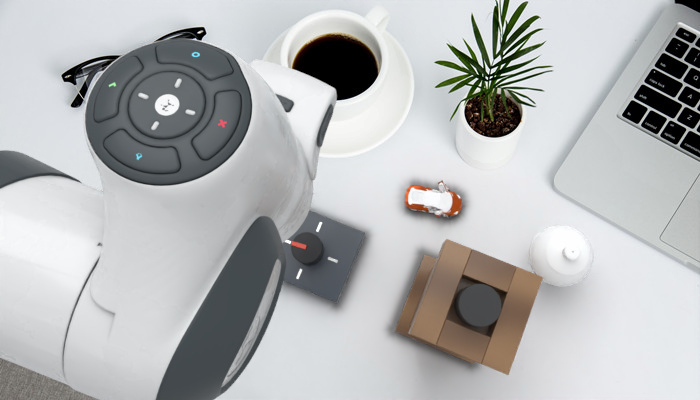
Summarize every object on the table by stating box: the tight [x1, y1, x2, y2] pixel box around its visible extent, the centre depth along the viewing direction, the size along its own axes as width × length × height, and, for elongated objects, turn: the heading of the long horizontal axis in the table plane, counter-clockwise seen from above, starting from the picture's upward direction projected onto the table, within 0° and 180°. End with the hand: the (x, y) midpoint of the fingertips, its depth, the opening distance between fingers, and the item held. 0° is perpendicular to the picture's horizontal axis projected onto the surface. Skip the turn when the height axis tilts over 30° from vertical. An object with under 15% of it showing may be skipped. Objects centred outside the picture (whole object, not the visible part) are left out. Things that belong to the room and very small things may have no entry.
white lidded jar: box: [528, 224, 594, 288], centre depth 78 cm, size 8×8×12 cm
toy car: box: [404, 179, 463, 219], centre depth 84 cm, size 5×8×3 cm, turn 78°
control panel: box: [283, 210, 366, 304], centre depth 83 cm, size 10×12×3 cm
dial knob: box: [291, 232, 324, 265], centre depth 80 cm, size 4×4×4 cm
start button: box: [455, 284, 502, 327], centre depth 59 cm, size 4×4×3 cm
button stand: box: [394, 238, 543, 376], centre depth 71 cm, size 11×11×24 cm
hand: (277, 217), depth 54 cm, fingers open, 3 cm apart
